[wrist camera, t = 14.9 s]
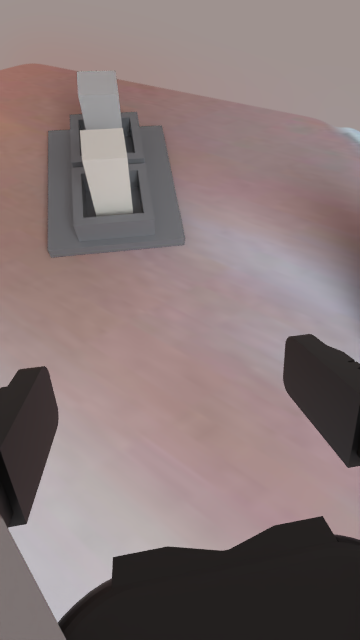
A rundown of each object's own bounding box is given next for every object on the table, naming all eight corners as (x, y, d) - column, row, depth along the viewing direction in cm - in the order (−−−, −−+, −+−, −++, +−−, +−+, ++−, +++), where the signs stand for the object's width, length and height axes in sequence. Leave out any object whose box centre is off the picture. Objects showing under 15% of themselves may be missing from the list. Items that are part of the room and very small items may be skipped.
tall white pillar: (130, 195, 45) (122, 127, 36) (133, 221, 43) (127, 157, 34) (96, 197, 44) (79, 130, 35) (98, 224, 42) (82, 160, 33)
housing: (161, 134, 53) (162, 53, 42) (184, 244, 44) (192, 177, 33) (51, 139, 50) (23, 56, 40) (51, 257, 41) (15, 189, 31)
